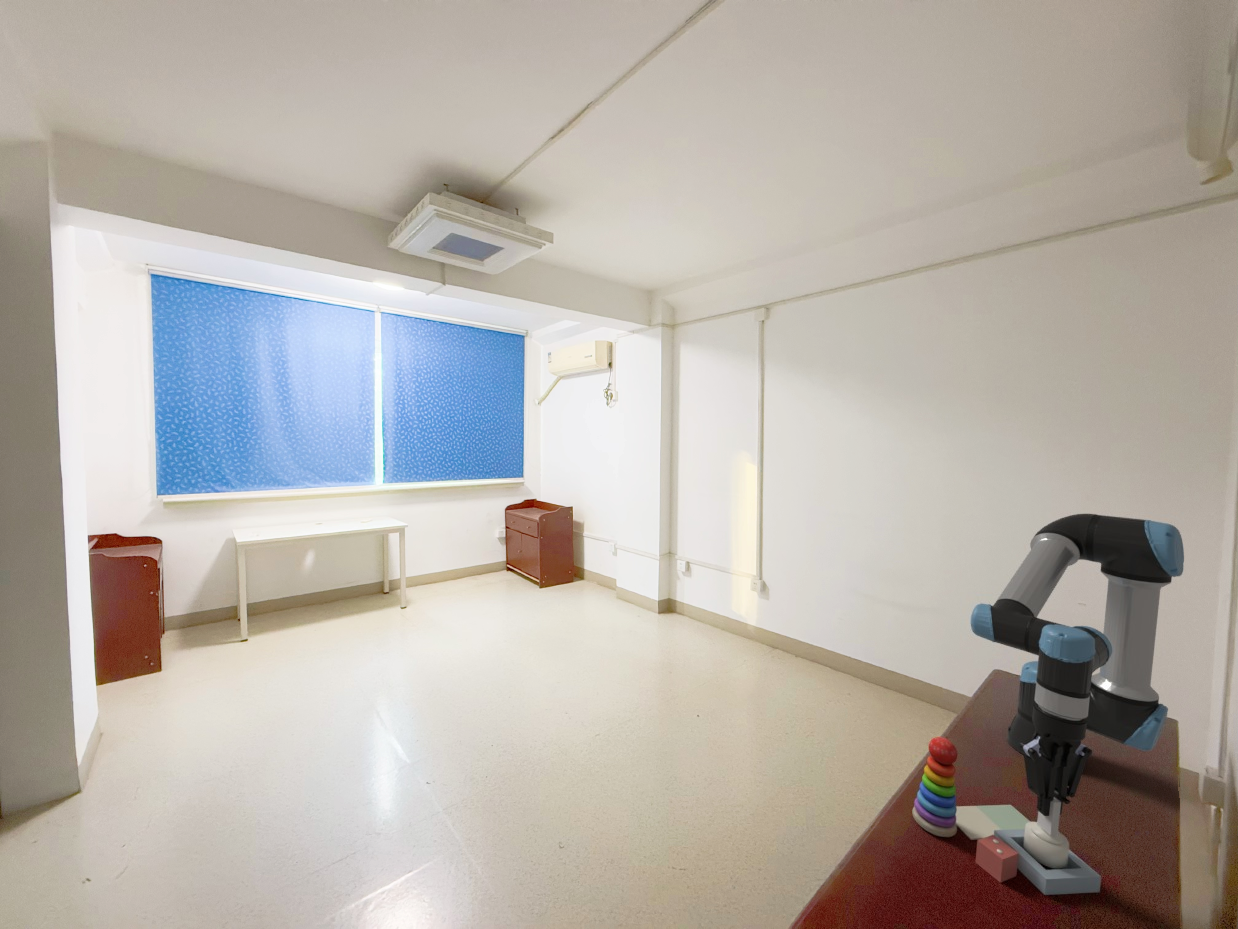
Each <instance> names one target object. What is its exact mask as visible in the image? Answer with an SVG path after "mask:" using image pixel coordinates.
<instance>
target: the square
mask: <svg viewBox="0 0 1238 929" xmlns="http://www.w3.org/2000/svg"><path fill="white" fill-rule="evenodd" d="M976 806H977V805H963V806H961V805H959V806H958V805H956V808H957V811H956V825H957V828H959V830H960V831H961V832H963V833H964V835H965V836H966V837H968V839H969V840H970V841H972V840H973V841H975V840H977V841H978V840H980V839H983V838H985V837H988V836H991V835H994V830H1001V829H1000V828H999V827H998V826H997V825H996V824H995V823H994V822H992V821H991V820H990V819H989V818H988V817H987V816H986V815H985V814H984V813H983V812H982V811H981V810H979V809H978V808H977V807H976Z"/></svg>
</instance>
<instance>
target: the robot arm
mask: <svg viewBox="0 0 1238 929" xmlns="http://www.w3.org/2000/svg"><path fill="white" fill-rule="evenodd" d="M1029 545H1030V551H1028V554H1027V555H1026V557H1025V558H1024V559H1023V561H1022V563H1021V564H1020V566H1019V567H1018V569H1017V570H1016V571H1015V573H1014V575H1013V576H1012V577H1011V578H1010V581H1009V582H1008V584H1007V585H1006V586H1005V587H1004V588H1003V591H1002V592H1001V594H1000V595H999V596H998V598H997V599H996V601H995V603H994V604H993V605H991V604H990V603H989V604H987V603H979V604H977V605H975V606H974V608H973V609H972V612H971V616H970V627H971V629H970V630H971V631H972V633H973V634H974V635H975V636H977V637H980V638H982V639H985V640H987V641H990V642H992V643H997V644H1000V645H1004V646H1007V647H1010V648H1013V649H1016V650H1020V651H1023V652H1027V653H1030V654H1032V655H1035V656H1038V659H1037V660H1034V661H1033V660H1031V661H1028V662H1026V663H1024V664H1023V665H1022V667H1021V672H1020V675H1019V689H1018V700H1017V710H1016V714H1015V716H1014V718H1013V719H1012V721H1011V723H1010V724H1009V726H1008V727H1007V730H1006V737H1005V738H1006V741H1007V743H1008V744H1009V745H1010V746H1011V747H1012V748H1013V749H1014V750H1015V751H1017V752H1019V753H1021V755H1023V758H1024V759H1023V760H1024V766H1025V767H1024V768H1025V775H1026V783H1027V788H1028V790H1030V791H1031V792H1033V793H1034V794H1035V795H1036V796H1037V800H1036V801H1037V802H1036V803H1037V804H1036V810H1037V819H1036V820H1037V821H1036V822H1037V825H1038V826H1040V827H1041V828H1042V829H1043V830H1044V831H1046V832H1047V833H1048V834H1049V835H1050V836H1052V835H1058V831H1059V825H1060V816H1062V814H1063V804H1065V805H1068V804H1070V803H1071V800H1070V799H1068V798H1067V797H1069V798H1074V797H1075V796H1076V794H1077V791H1078V787H1079V784H1080V781H1081V779H1082V775H1083V772H1084V769H1085V766H1086V763H1087V761H1088V760H1089V758H1090V757H1091V755H1092V754H1093V750H1092V749H1091V748H1089V747H1088V746H1086V745H1085V744H1083V743H1082V741H1083V740H1085V738H1086V732H1087V731H1090V732H1093V733H1094V734H1097V735H1099V736H1101V737H1105V738H1108V739H1110V740H1113V741H1115V742H1117V743H1119V744H1122V746H1129V747H1131V748H1134V749H1137V750H1140V751H1143V752H1149V751H1152V750H1153V749H1154V748H1155V746H1156V745H1157V743H1158V740H1159V738H1160V736H1161V734H1162V731H1163V728H1164V726H1165V723H1166V719H1167V718H1168V711H1169V708H1168V707H1167V706H1166V705H1164V704H1163V703H1159V702H1160V701H1159V700H1160V695H1159V694H1158V692H1157V691H1156V690H1155V688H1153V687H1152V686H1151V682H1152V675H1153V674H1152V673H1153V663H1154V654H1155V643H1156V636H1157V635H1156V633H1157V625H1158V617H1159V616H1158V614H1159V609H1160V608H1159V606H1160V597H1161V589H1162V588H1163V587H1165V586H1167V585H1170V584H1172V579H1173V578H1175V577H1181V576H1182V575H1183V572H1184V562H1185V552H1184V549H1185V548H1184V544H1183V538H1182V535H1181V532H1180V530H1179V529H1178V528H1177V527H1176V526H1175V525H1173V524H1169V523H1166V522H1162V521H1161V522H1160V521H1154V520H1149V519H1141V518H1131V517H1130V518H1129V517H1123V516H1122V517H1121V516H1113V515H1111V516H1110V515H1102V514H1096V513H1076V514H1072V515H1068V516H1064V517H1061V518H1058V519H1056V520H1054V521H1052V522H1050V523H1048V524H1047V525H1045V526H1043V527H1042V528H1040V529H1039V530H1038V531H1037V532H1036V533H1035V534H1034V536H1033V537H1032V539H1031V540H1030V543H1029ZM1079 560H1080V561H1081V560H1082V561H1088V562H1092V563H1093V562H1094V563H1098V564H1100V573H1102V575H1103V576H1104V577H1106V579H1107V580H1108V581H1107V589H1106V590H1107V592H1106V593H1107V594H1106V602H1105V611H1104V612H1105V613H1104V622H1103V632H1102V631H1100V630H1099V629H1096V628H1094V627H1091V626H1088V625H1075V626H1074V625H1073V626H1069V625H1066V624H1061V623H1058V622H1054V621H1049V620H1046V619H1042V618H1039V617H1038V616H1039V615H1040V613H1041V611H1042V610H1043V608H1044V606H1045V605H1046V603H1047V602H1048V600H1049V598H1050V597H1051V595H1052V594H1053V592H1054V590H1055V588H1056V587H1057V585H1058V584H1059V581H1060V580H1061V578H1063V577H1062V576H1063V575H1064V574H1065V572H1066V570H1067V568H1068V567H1071V566H1073V565H1075V564H1076V563H1077V562H1078V561H1079ZM1098 669H1099V672H1097V673H1095V674H1093V673H1094V672H1095V671H1097V670H1098Z"/></svg>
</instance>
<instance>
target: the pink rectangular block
mask: <svg viewBox="0 0 1238 929" xmlns="http://www.w3.org/2000/svg"><path fill="white" fill-rule="evenodd" d="M1018 855H1019V853H1018V852H1016V851H1015V850H1014V849H1012V848H1011V847H1009V846H1008V845H1007V844H1005V843H1004V842H1003V841H1001V840H1000V839H999V838H997V837H996V836H994V835H991V836H988V837H985V838H983V839H980V840H977V841H976V852H975V861H974V862H975V864H976V865H978V867H980V868H982V870H984V871H986V872H987V873H988V874H989V875H990V876H992V878H994V879H995V880H996V881H998V882H999V883H1003V882H1006V881H1008V880H1010V879H1013V878H1015V877H1017V872H1018V868H1017V865H1018Z"/></svg>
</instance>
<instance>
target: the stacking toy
mask: <svg viewBox="0 0 1238 929" xmlns="http://www.w3.org/2000/svg"><path fill="white" fill-rule="evenodd" d="M928 751H929V754H930V756H928V757H927V760H926V764H925V766H924V768H923V772H924V773H923V775H922V777H921V780H922V781H921V782H920V784H919V790H918V791H917V793H916V797H915V799H914V800H913V801H914V803H913V804H914V806H913V808H912V810H911V811H912V813H911V814H912V817H913V819H914V821H916V823H917V824H918V825H919V826H920V827H921V828H922V829H923V830H925V831H927V832H928V833H930V834H932V835H934V836H937V837H943V838H950V837H951V838H952V837H954V836H955V835H956V834H957V833H958V832H957V831H958V826H957V825H956V811H957V808H956V806H957V805H956V801H957V798H956V792H957V789H956V785H955V784H956V778H955V776H954V775H955V774H956V770H957V769H956V767H955V765H954V763H955V762H956V761H957V759H958V750H957V748H956V746H955V744H954V743H953V742H952V741H950V740H949V739H947V738H945V737H942V736H935V737H932V738H931V740H930V741H929V743H928Z"/></svg>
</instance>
